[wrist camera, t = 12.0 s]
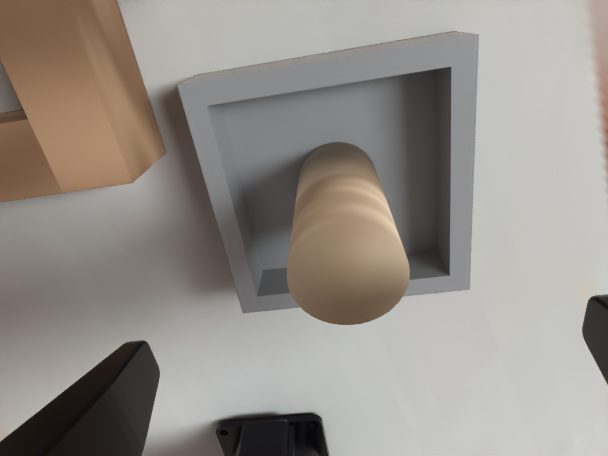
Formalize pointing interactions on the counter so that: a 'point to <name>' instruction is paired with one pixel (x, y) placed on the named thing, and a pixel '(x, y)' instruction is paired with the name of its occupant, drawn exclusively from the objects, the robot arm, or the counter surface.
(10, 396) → the counter surface
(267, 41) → the counter surface
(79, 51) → the brown square frame
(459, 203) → the gray square tray
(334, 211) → the beige wooden peg
